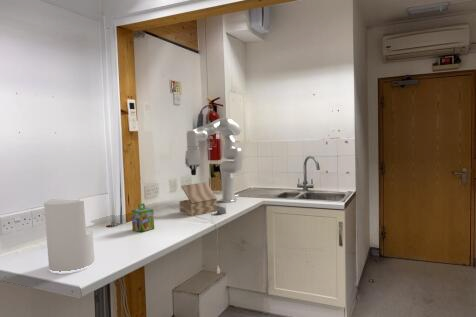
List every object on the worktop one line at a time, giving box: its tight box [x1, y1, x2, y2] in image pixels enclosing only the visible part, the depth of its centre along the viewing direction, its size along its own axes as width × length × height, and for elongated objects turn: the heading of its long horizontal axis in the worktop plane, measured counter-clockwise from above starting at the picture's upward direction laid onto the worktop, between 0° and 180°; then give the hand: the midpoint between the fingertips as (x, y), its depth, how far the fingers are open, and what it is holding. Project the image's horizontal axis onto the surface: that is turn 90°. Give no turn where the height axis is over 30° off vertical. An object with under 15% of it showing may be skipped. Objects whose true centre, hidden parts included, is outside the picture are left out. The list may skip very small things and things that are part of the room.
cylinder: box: [43, 199, 96, 272], centre depth 145 cm, size 17×17×28 cm
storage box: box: [178, 198, 218, 217], centre depth 241 cm, size 20×16×8 cm
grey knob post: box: [216, 204, 227, 215], centre depth 234 cm, size 6×6×5 cm
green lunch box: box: [130, 203, 155, 233], centre depth 199 cm, size 9×9×15 cm
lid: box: [181, 181, 218, 204], centre depth 239 cm, size 20×16×1 cm
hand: (193, 174), depth 242 cm, fingers closed
